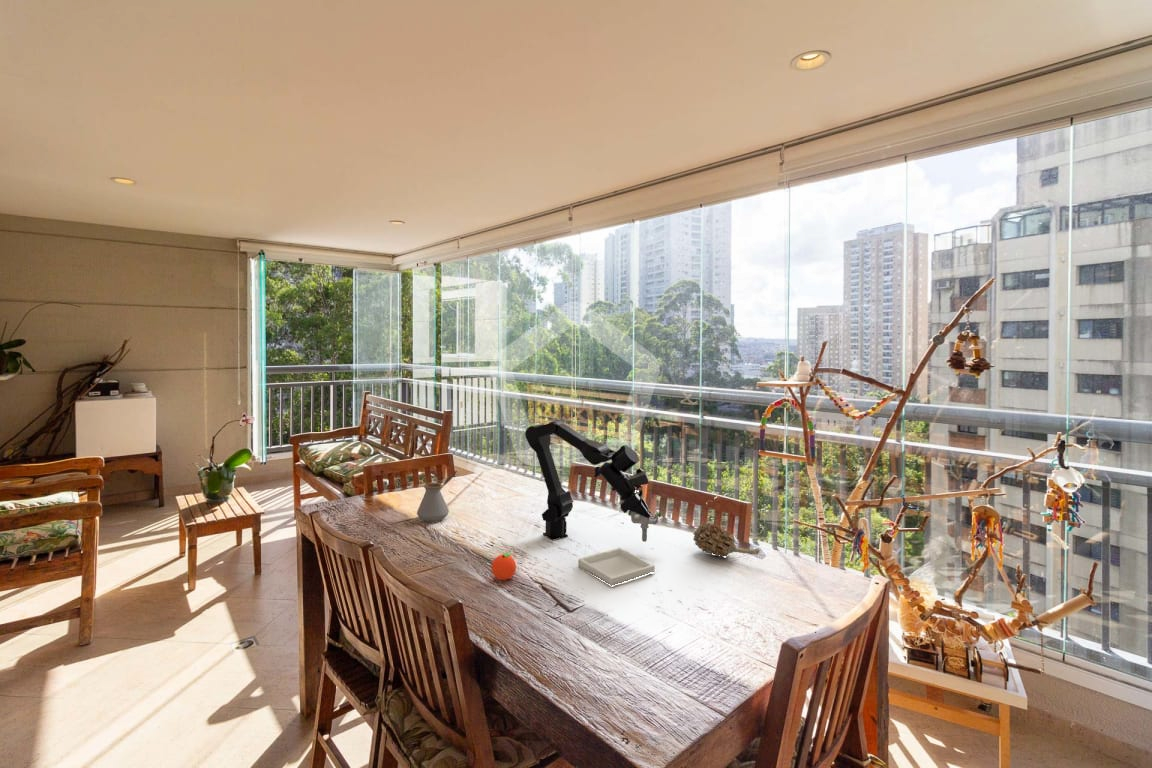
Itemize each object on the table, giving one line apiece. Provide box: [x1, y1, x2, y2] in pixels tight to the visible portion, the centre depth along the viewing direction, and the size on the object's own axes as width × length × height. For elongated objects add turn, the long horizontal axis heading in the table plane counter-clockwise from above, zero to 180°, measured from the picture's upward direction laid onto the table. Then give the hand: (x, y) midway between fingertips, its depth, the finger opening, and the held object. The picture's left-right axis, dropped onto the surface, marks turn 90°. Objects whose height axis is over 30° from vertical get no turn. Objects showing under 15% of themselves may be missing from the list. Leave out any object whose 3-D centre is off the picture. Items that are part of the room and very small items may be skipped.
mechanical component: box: [627, 509, 662, 542], centre depth 179 cm, size 3×10×10 cm, turn 81°
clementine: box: [491, 553, 517, 581], centre depth 159 cm, size 8×7×7 cm
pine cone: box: [693, 522, 761, 557], centre depth 176 cm, size 22×10×10 cm, turn 56°
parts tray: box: [577, 547, 655, 586], centre depth 166 cm, size 16×16×2 cm
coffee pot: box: [416, 470, 460, 523], centre depth 211 cm, size 21×12×15 cm, turn 157°
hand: (649, 515), depth 178 cm, fingers closed on mechanical component, 3 cm apart
